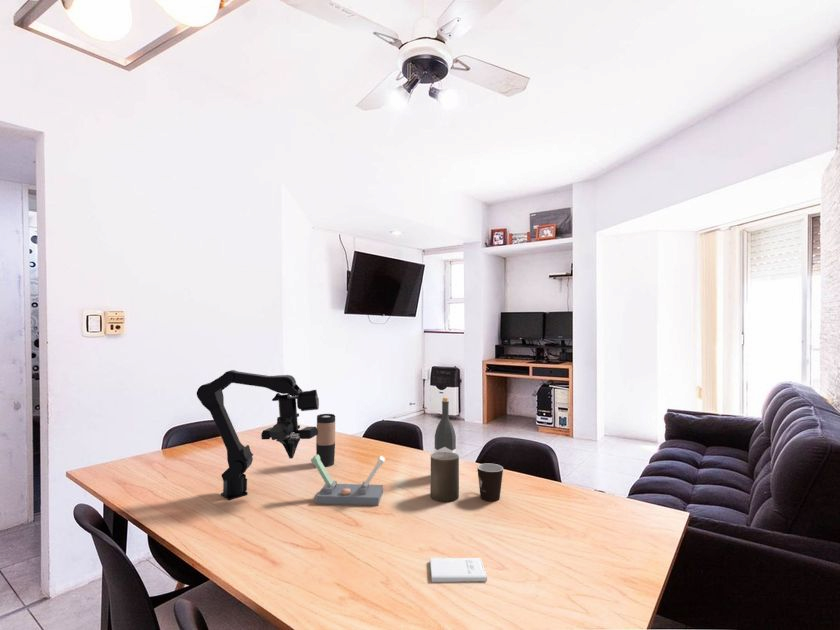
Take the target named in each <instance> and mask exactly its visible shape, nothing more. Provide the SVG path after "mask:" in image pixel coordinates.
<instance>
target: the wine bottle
mask: <svg viewBox="0 0 840 630" xmlns="http://www.w3.org/2000/svg"><path fill="white" fill-rule="evenodd" d="M449 402H450V401H449V397H446V396H445V397H442V401H441V405H442V406H441V409H442V410H441V411H442V412H441V419H440V421H439V423H438V425H437V427H436V429H435V433H434V453H437V452H452V453H456V454H457V450H456V449H457V446H456V444H457V443H456V442H457V441H456V439H457V436H456V432H455V428H454V426H453V424H452V422H451V420H450V417H449V411H450V410H449V405H450V403H449Z"/></svg>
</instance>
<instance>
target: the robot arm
mask: <svg viewBox="0 0 840 630" xmlns="http://www.w3.org/2000/svg"><path fill="white" fill-rule="evenodd" d="M231 384H236V385H246V386H254V387H260V388H265V389H268V390H270V391H273V392H276V394H275V395H274V397H273V398H272V399H271V401H272V402H275V401H276V402H278V413H279V416H277V419H276V424H274V425H273V426H272V427H268V428H267V429H263V430H262V432H261V435H260V437H261V440H270V439H271V440H272V441H276V442H278V443H281V445H282V446H283V448H284V450H285V451H286V454H287V456H288V459H290V460H291V459H293V458H294V456H295V454H296V450H297V447H298V444H300V443H299V442H300V441H301V440H311V439H312V438H314V437H316V435H318V429H317V426H305V427H304V428H301V425H299V423H298V417H300V413H299V412H298V411H297V410H300V411H301V412H306V411H307V412H308V411H316V410H319V408H320V407H319V406H320V401H319V397H318V390H317V389H311V390H305V391H304V390H303V389H301V388H300V386H298V384H297V381H296V379H295V377H294V376H293V375H290V374H281V375H267V374H259V373H252V372H244V371H243V372H242V371H237V370H235V369H231V370H228V371H225V372H224V373H223V374H222V375H220V376H219V377H217V378H216V379H214V380H212V381H210V382H207V383H205V384H202V385H200V386H199V387H198V389H197V391H196V396H197V399H198V400H199V402H200V403H201V405H202V406H203V407H205V409H207V411H209V413H210V415H211V418H212V419H213V422H214V424H215V426H216V428H217V430H218V433H219V436H220V438H221V440H222V442H223V445H224V447H225V448H226V458H227V459H226V461H227V464H228V468H227V469H226V470H225V471H224V472H223V473H221V479H222V480H223V481H222V482H223V483H222V486H223V487H222V488H223V490H222V492H221V493H220V495H221V496H222V497H223V498H225V499H227V500H233V499H236V498H239V497H243V496H247V495H248V494H249V492H248V478H247V475H246V474H245V473H246V471H247V470H248V468H250V467H251V466H252V463H253V461H254V459H253V456H254V453H252V451H251V449H250V445H249V444H247V445H245V446H244V445H243V444H242V442H241V441H240V439H239V435H238V434H237V432H236V430H235V427H234V425H233V423H232V421H231V417H230V416H229V414H228V412H227V409H226V407H225V405H224V404H225V402H224V401H225V400H224V393H223V390H225V389H226V388H227V387H229V386H230V385H231Z"/></svg>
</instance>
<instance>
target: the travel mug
mask: <svg viewBox="0 0 840 630" xmlns="http://www.w3.org/2000/svg"><path fill="white" fill-rule="evenodd" d="M316 428H317V429H318V435H316V436H315V437H316V438H315V439H316V443H315V444H316V445H315V447H316V448H315V450H316V451H315V452H316V455H317V454H319V456H320V460H321V462H322V463H323V465H324V467H325V468H326V467H332V466H333V465H334V464H335V456H336V455H335V453H336V451H335V450H336V415H335V414H334V413H320V414H317V415H316ZM316 455H315V456H316Z"/></svg>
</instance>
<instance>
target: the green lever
mask: <svg viewBox="0 0 840 630" xmlns="http://www.w3.org/2000/svg"><path fill="white" fill-rule="evenodd" d="M310 461H311V463H312V465H314V466H315V468H316V469H317V471H318V473H319V474H320V476H321V478H322V479H323V482H324V484H326V485H327V488H333V489H334V487H335V486H336V482H335V481H336V480H333V479H332V477H331V476H330V474H329V472H328V471H327V469H326V467H324V465H323V463H322V462H321V460H320V456H319V454H317V455H314V456H313V457H312V458H311V459H310Z"/></svg>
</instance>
